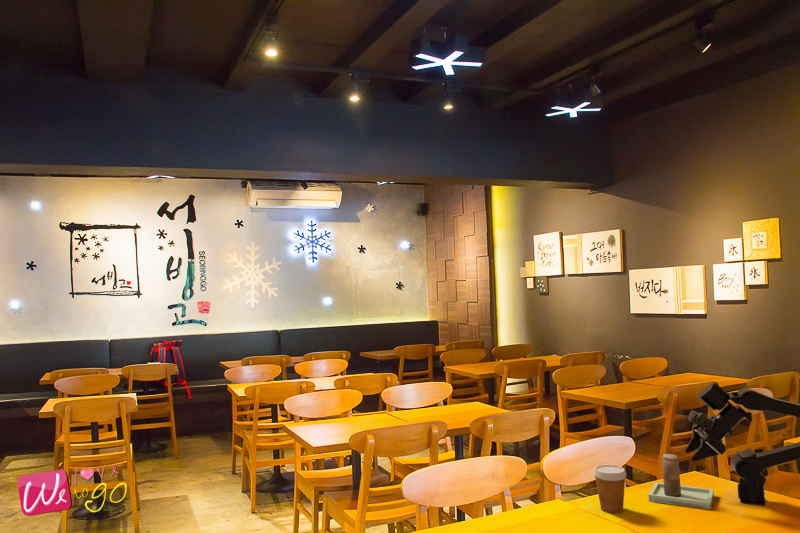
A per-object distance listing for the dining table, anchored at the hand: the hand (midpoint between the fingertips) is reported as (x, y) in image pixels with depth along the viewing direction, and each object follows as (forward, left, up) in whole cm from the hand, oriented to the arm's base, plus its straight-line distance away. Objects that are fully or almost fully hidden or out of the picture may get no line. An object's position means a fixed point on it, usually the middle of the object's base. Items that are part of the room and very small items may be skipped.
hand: (688, 456), depth 184 cm
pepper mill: (+5, +2, -12) cm, 13 cm away
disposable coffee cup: (+20, +19, -13) cm, 30 cm away
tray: (+3, +1, -13) cm, 13 cm away
